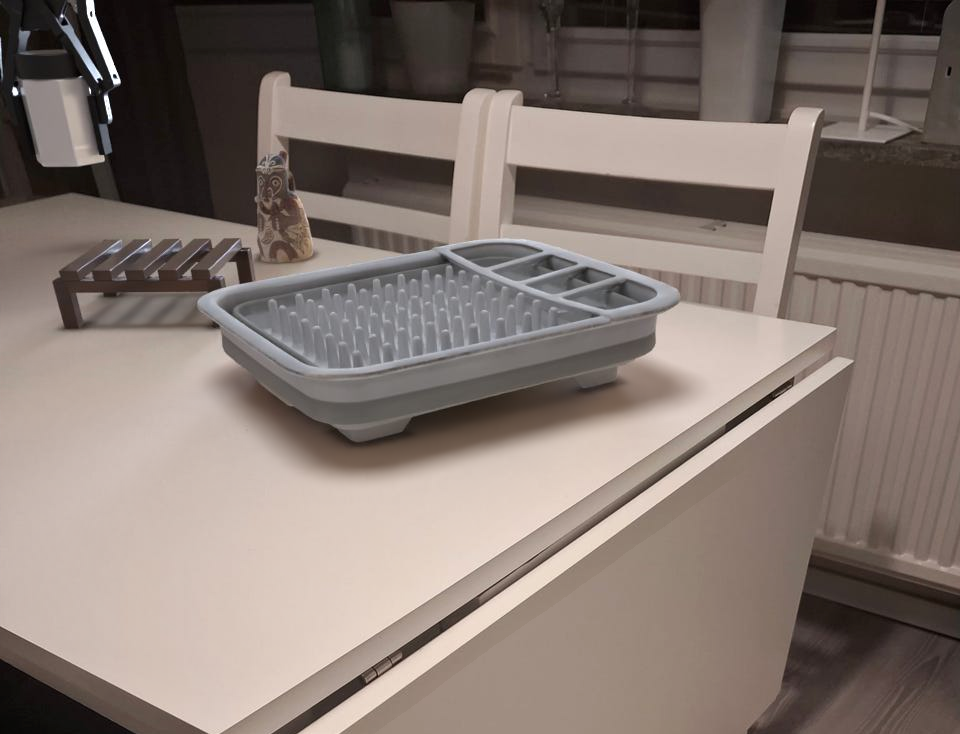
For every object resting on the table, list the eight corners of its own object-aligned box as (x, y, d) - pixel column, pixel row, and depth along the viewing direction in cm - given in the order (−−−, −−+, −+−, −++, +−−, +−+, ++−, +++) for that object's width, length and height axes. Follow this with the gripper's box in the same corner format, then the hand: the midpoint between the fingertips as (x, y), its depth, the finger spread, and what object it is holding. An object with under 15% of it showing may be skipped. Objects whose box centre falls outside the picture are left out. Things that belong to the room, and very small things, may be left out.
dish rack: (193, 368, 98) (176, 281, 93) (513, 306, 112) (513, 228, 107) (323, 483, 76) (309, 378, 71) (699, 389, 90) (709, 295, 85)
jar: (115, 156, 135) (93, 49, 127) (94, 167, 128) (70, 54, 121) (49, 157, 135) (24, 49, 128) (25, 167, 128) (-3, 54, 121)
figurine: (247, 260, 131) (231, 155, 124) (283, 248, 136) (270, 147, 128) (289, 266, 128) (276, 160, 121) (324, 254, 133) (313, 150, 125)
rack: (64, 330, 109) (49, 271, 105) (108, 294, 120) (95, 239, 116) (228, 329, 108) (218, 269, 104) (257, 293, 119) (249, 237, 115)
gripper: (120, -68, 120) (159, 148, 133) (-57, -65, 121) (0, 149, 134) (99, -69, 114) (142, 158, 127) (-88, -66, 115) (-25, 158, 128)
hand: (69, 153), depth 131 cm, fingers closed on jar, 9 cm apart
